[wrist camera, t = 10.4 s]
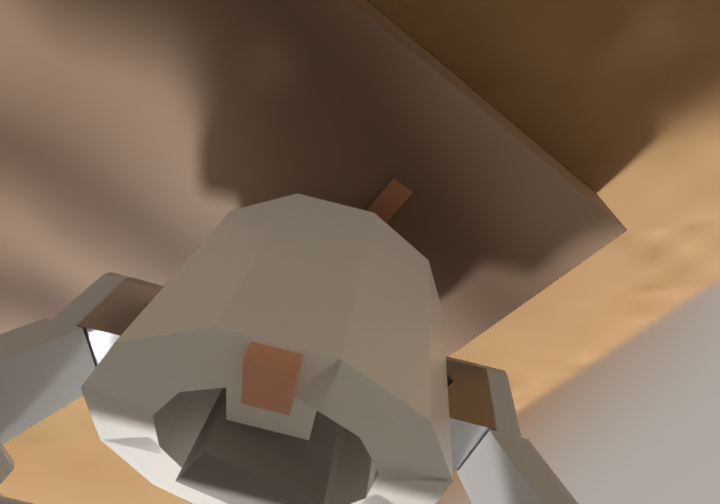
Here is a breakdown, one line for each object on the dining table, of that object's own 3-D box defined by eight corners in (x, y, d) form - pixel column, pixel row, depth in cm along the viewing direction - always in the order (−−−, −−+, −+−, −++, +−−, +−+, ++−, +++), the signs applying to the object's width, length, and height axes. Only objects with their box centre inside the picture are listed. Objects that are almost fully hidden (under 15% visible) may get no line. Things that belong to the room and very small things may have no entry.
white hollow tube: (400, 404, 12) (391, 575, 8) (203, 354, 12) (111, 505, 8) (479, 239, 8) (518, 423, 5) (192, 166, 8) (20, 297, 5)
